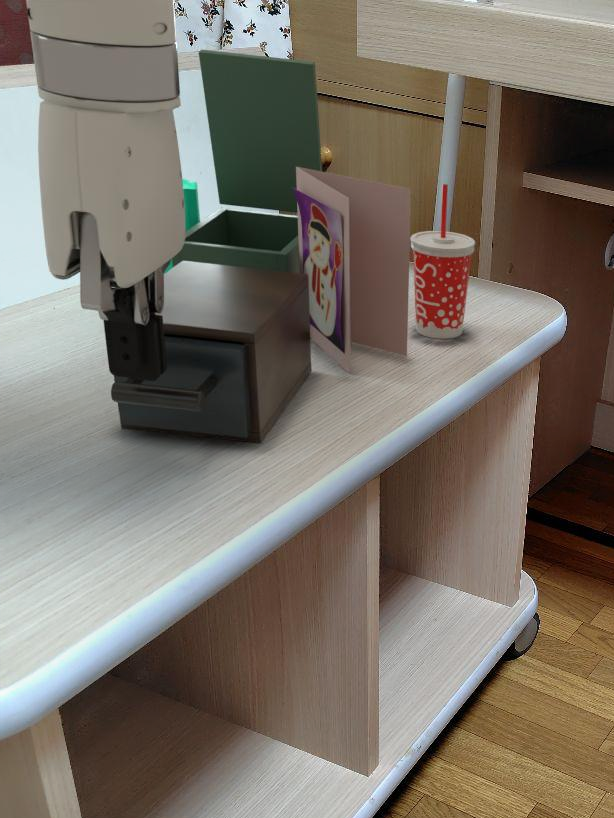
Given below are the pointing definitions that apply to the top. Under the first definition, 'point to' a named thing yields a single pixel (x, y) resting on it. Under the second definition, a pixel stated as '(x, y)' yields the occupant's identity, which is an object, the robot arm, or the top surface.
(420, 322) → the beverage cup
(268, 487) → the top surface
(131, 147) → the robot arm
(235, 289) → the cabinet
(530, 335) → the top surface
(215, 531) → the top surface
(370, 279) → the greeting card
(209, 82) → the chest lid
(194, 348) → the drawer
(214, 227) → the chest
